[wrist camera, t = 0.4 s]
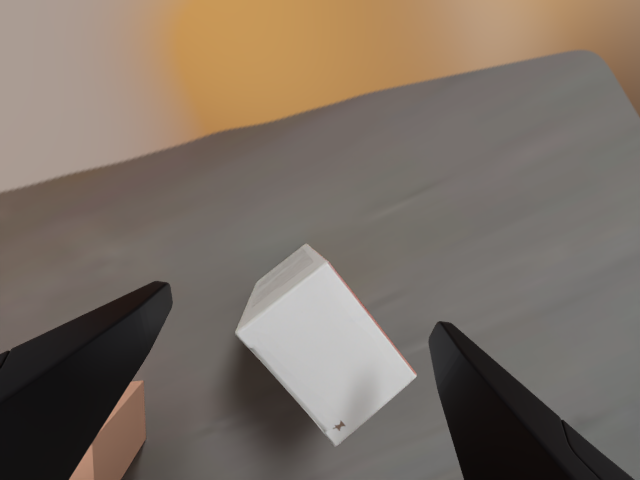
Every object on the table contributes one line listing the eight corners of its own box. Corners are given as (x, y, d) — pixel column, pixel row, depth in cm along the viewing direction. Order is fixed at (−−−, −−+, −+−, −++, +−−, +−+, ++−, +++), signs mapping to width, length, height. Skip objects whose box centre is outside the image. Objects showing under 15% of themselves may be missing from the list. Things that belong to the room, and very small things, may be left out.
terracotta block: (146, 438, 22) (96, 519, 16) (78, 445, 21) (-1, 533, 15) (143, 380, 21) (91, 441, 15) (74, 385, 21) (-9, 452, 15)
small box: (360, 310, 24) (422, 379, 13) (311, 350, 23) (337, 453, 13) (306, 240, 23) (329, 257, 12) (253, 281, 22) (231, 335, 12)
